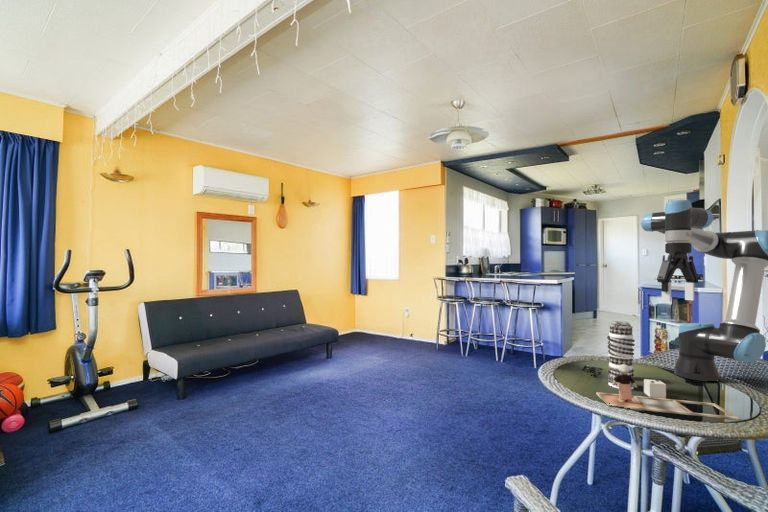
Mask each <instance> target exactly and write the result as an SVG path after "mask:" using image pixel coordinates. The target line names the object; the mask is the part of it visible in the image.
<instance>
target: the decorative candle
mask: <svg viewBox="0 0 768 512" xmlns="http://www.w3.org/2000/svg"><path fill="white" fill-rule="evenodd" d="M608 326H609V334H608V336H607V337H606V338H607V340H608V341H607V344H608V345H607V349H608V350H607V355H608V356H609V361H608V368H607V369H609V370H608V371H607V372H608V373H609V374H608V375H607V377H608V379H607V382H608V383H607V384H608V386H610V387H611V386H612V388H615V389H618V390H619V382H616V384H615V385H612V382H613V379H614V378H615V377H616V376H618V375H622V374H621V373H620V371H619V369H618V367H619V366H620V365H622V364H625V365H628V367H629V369H630V372H628V374H627V375H629V376H631V377H632V378H633V379H634V375H635V374H634V371H635V370H634V364H633V359H634V358H635V356H634V355H635V353H634V351H635V349H634V348H633V347H634V346H636V344H634V342H635V341H636V340H635V339H634V335H633V328H634V326H632V325H631V323H630V322H628V321H617V320H615V321H612V322H611V323H610V324H609V325H608ZM632 351H633V352H632ZM630 387H631V390H634V388H635V387H634V385H633V384H632V383H631V382H630Z"/></svg>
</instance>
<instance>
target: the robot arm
mask: <svg viewBox="0 0 768 512" xmlns="http://www.w3.org/2000/svg"><path fill="white" fill-rule="evenodd" d="M664 205H665V208H664V211H659V212H657V211H656V212H650V213H647V214H643V216H641V217H642V218H641V220H640V221H641V222H640V224H641V225H640V226H641V228H642V229H643V231H644V232H651V233H652V232H658V233H661V234H664V242H665V245H664V252H665V255H662V261H661V264H660V267H659V270H658V275H657V278H656V280H657V282H658V283H660V284H661V301H662V302H672V282H670V281H671V279H672V278H673V276H674V274H675V273H676V270H678V269H679V271H680V272H681V273H682V275H683V278H684V279H685V281H686V282H684V300H685V301H693V302H694V301H695V284H696V283H697V284H698V283H699V275H698V273H697V270H696V266H695V262H694V256H693V255H688V254H691V253H692V247H693V249H694V250H695V251H697V252H700V253H702V254H705V255H708V256H711V257H714V258H719V259H723V260H724V259H725V260H730V259H731V262H732V263H733V264H734V265H735V266H734V272H733V277H732V284H731V288H730V295H729V300H728V306H727V309H726V310H727V311H726V315H725V316H726V317H725V319H724V320H723V321H721V322H719V326H718V327H716V326H715V324H714V323H711V322H684V323H680V324H679V327H678V358H677V360H676V363H675V366H674V367H673V374H674V375H676V376H678V377H681V378H684V379H689V380H693V381H700V382H708V381H717V380H719V379H720V380H721V374H720V372H719V370H718V367H717V364H716V362H715V357H718V358H719V357H720V358H725V359H730V360H735V361H737V362H745V363H746V362H747V363H754V362H757V361H759V360H760V359H761V358H762V356H763V355H764V353H765V351H766V348H767V342H766V341H767V340H766V337H765V336H764V335H763V334H762V333H760V332H761V330H760V328H758V327H757V325H756V322H757V317H758V311H759V304H760V298H761V293H762V286H763V282H764V281H763V280H764V276H765V275H764V274H765V270H766V268H768V230H767V229H763V230H761V229H760V230H759V229H755V230H744V231H743V230H742V231H726V232H714V231H712V230H711V231H710V230H703V229H705V228H708V227H709V226H710V225H712V223H713V222H714V214H713V213H712V211H710V210H709V209H706V208H702V207H693V205H692V202H691V200H689V199H675V200H670V201H667V202H666V203H665V204H664ZM717 382H718V381H717Z"/></svg>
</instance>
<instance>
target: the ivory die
mask: <svg viewBox="0 0 768 512" xmlns="http://www.w3.org/2000/svg"><path fill="white" fill-rule="evenodd" d="M643 393H644V394H645V395H646V396H647V397H652V398H663V399H667V384H666V383H664V382H663V381H661V380H660V379H647V378H644V379H643Z"/></svg>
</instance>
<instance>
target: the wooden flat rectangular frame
mask: <svg viewBox="0 0 768 512" xmlns="http://www.w3.org/2000/svg"><path fill="white" fill-rule="evenodd" d="M596 395H597V396H598V398H599V399H600V400H601V399H602V400H603V401H604V402H605V403H606V404H607V405H612V406H618V407H624V408H623V409H627V408H630V409H629V410H640V411H649V412H656V413H657V412H659V413H666V414H667V413H668V414H678V415H687V416H696V417H707V418H717V419H726V420H727V419H728V420H737V421H740V420H741V419H740V417H738V416H737V415H735V414H733V413H732V412H730V411H729V410H726V409H725V408H724V407H721V406H720V405H718V404H717V403H713V402H705V401H704V402H703V401H694V400H693V401H692V400H682V399H671V398H666V399H664V398H654V397H649V396H642V395H641V396H640V395H632V401H633V403H628V402H627V401H626V399H625V403H623V402H620V401H618V399H619V393H618V394H617V393H610V392H608V393H607V392H597V391H596ZM602 400H601V401H602ZM603 401H602V402H603ZM604 402H603V403H604ZM605 403H604V404H605ZM609 403H610V404H609ZM606 404H605V405H606ZM683 404H692V405H700V406H711V407H715V408H717V409H718V410H719V411H721V412H723V413H724V414H726V415H723V414H722V415H721V414H710V413H700V412H694V411H692V410H690V409H688V408H687V407H686V406H685V405H683ZM607 405H606V406H607Z"/></svg>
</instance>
